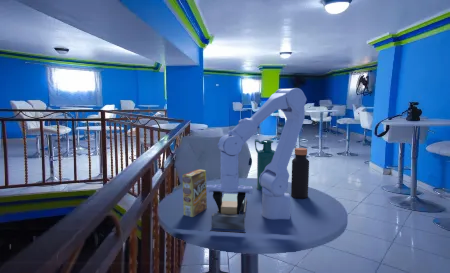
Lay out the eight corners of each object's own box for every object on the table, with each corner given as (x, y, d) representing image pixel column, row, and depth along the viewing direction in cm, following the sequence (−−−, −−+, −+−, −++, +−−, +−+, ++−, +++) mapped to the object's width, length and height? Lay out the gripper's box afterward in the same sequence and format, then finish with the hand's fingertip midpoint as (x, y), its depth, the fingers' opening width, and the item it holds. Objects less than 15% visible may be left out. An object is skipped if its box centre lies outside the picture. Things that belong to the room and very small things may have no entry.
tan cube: (237, 216, 95) (237, 201, 95) (236, 222, 90) (236, 207, 90) (223, 215, 96) (222, 201, 95) (221, 221, 91) (220, 206, 90)
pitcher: (275, 185, 134) (276, 138, 130) (276, 191, 125) (277, 141, 122) (254, 185, 134) (254, 138, 131) (254, 190, 126) (254, 141, 123)
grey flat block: (244, 201, 110) (244, 194, 110) (243, 211, 101) (243, 203, 101) (224, 201, 111) (224, 193, 111) (221, 210, 102) (220, 202, 102)
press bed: (248, 203, 111) (249, 191, 110) (245, 233, 87) (245, 217, 87) (220, 202, 112) (220, 190, 112) (210, 231, 89) (209, 215, 88)
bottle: (309, 199, 116) (311, 150, 113) (292, 199, 116) (294, 150, 113) (305, 193, 123) (307, 147, 120) (289, 193, 123) (290, 147, 120)
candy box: (193, 220, 96) (192, 176, 94) (182, 217, 99) (181, 174, 96) (207, 211, 104) (206, 170, 102) (197, 209, 106) (197, 168, 104)
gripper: (252, 170, 94) (252, 210, 95) (209, 169, 95) (209, 208, 97) (252, 176, 87) (251, 219, 89) (205, 175, 88) (205, 217, 90)
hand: (229, 214), depth 92 cm, fingers closed on tan cube, 5 cm apart
